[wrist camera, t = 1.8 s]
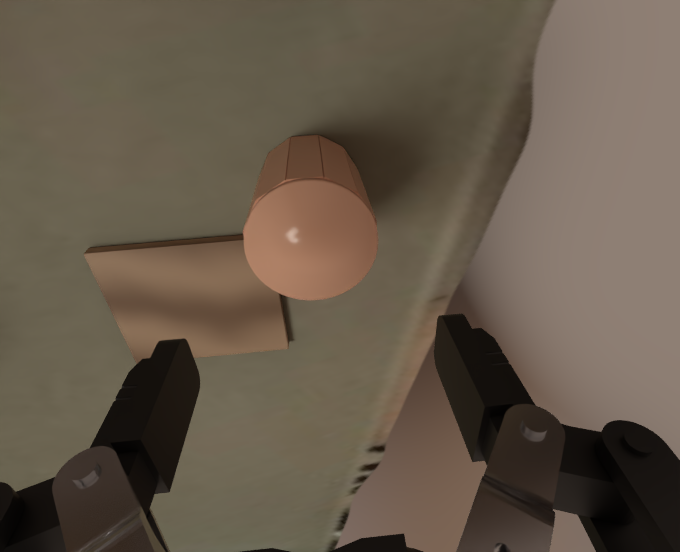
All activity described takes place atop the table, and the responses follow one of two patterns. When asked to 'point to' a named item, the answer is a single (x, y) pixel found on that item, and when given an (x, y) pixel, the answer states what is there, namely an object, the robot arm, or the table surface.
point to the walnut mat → (189, 296)
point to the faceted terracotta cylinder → (310, 221)
